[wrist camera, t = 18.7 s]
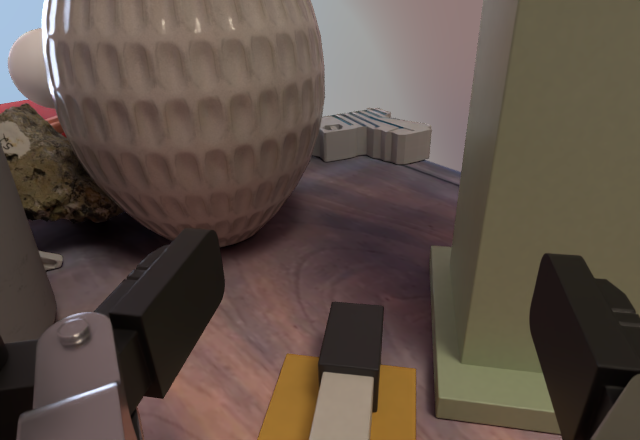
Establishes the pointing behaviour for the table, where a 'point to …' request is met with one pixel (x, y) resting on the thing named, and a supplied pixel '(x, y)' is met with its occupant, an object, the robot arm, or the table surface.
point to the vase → (188, 105)
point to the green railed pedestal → (536, 195)
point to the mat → (302, 392)
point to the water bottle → (20, 270)
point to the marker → (348, 372)
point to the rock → (50, 171)
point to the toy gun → (372, 137)
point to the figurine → (30, 68)
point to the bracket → (50, 260)
